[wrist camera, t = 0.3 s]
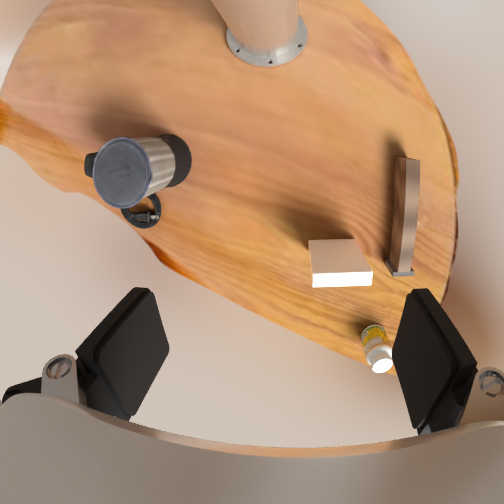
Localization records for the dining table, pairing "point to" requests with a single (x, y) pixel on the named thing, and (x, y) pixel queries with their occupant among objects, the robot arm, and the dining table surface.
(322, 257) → the tile
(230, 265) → the dining table surface
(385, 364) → the supplement bottle
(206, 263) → the dining table surface
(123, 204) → the milk frother
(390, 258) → the bar
